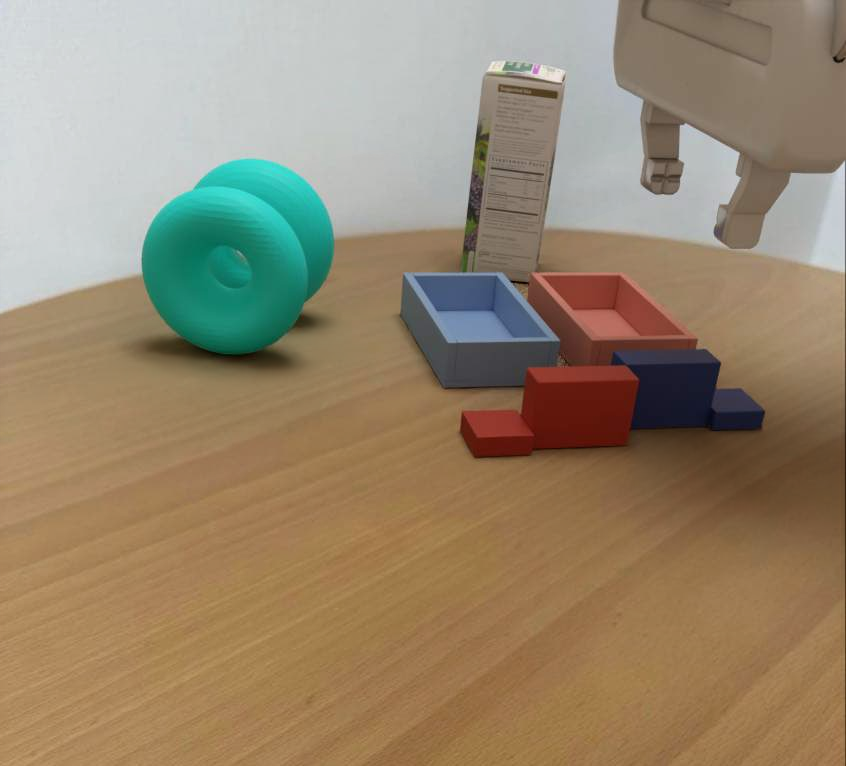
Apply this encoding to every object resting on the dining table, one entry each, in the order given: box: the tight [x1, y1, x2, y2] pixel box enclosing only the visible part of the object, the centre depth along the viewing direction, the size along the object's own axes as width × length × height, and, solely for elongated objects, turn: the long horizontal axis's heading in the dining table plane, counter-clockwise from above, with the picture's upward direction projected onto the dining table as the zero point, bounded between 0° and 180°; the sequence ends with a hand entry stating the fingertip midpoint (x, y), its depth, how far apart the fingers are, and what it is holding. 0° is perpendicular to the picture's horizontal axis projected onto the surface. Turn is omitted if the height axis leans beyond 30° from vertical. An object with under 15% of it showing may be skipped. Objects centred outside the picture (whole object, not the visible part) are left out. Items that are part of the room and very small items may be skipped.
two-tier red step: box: [459, 365, 639, 458], centre depth 63 cm, size 9×3×4 cm, turn 103°
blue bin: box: [399, 272, 560, 389], centre depth 74 cm, size 7×12×3 cm, turn 13°
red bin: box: [526, 271, 699, 367], centre depth 76 cm, size 7×12×3 cm, turn 13°
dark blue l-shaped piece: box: [611, 348, 766, 431], centre depth 66 cm, size 9×3×4 cm, turn 103°
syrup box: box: [459, 60, 568, 283], centre depth 85 cm, size 6×6×14 cm
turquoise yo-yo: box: [141, 158, 335, 356], centre depth 71 cm, size 10×10×10 cm
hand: (693, 216), depth 61 cm, fingers open, 8 cm apart
